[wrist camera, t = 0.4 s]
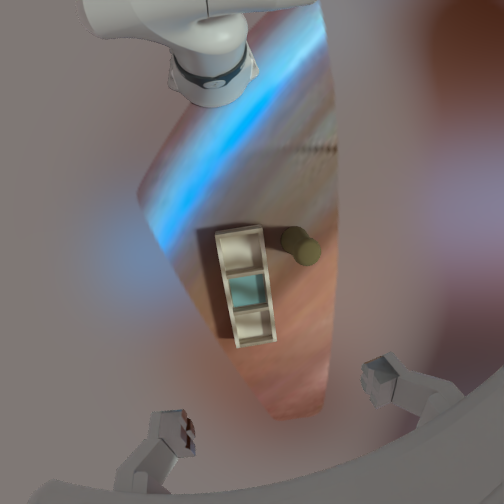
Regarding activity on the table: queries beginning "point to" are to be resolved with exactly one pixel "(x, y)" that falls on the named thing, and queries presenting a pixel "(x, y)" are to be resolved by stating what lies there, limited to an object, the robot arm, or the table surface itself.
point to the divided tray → (247, 284)
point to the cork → (301, 246)
